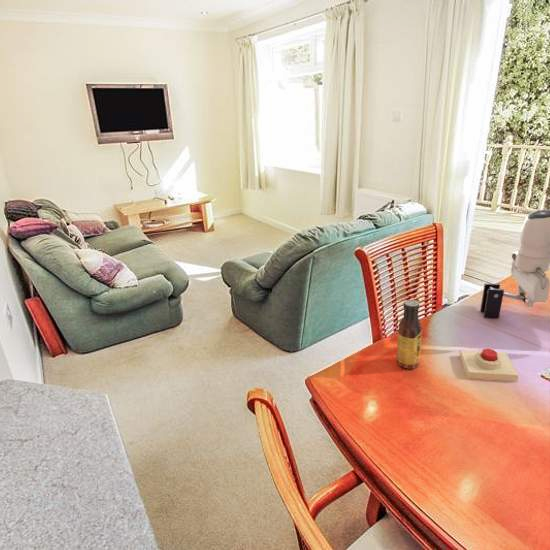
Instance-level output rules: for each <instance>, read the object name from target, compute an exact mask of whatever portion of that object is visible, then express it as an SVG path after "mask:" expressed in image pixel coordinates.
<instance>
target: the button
mask: <svg viewBox="0 0 550 550" xmlns="http://www.w3.org/2000/svg"><path fill="white" fill-rule="evenodd" d="M482 350H483V351H482V356H481V357H482V358H483V359H484V360H487V361H496V359H497V352H498V351H496V350H494V349H491V348H484V349H482Z"/></svg>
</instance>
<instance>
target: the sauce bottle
mask: <svg viewBox="0 0 550 550" xmlns="http://www.w3.org/2000/svg"><path fill="white" fill-rule="evenodd" d="M419 309H420V302H419V301H417V300H414V299H407V300H404V301H403V314H402V315H403V316H402V318H401V319H400V321H399V323H398V332H397V347H396V349H397V350H396V351H397V352H396V359H397V360H396V362H397V364H398V366H400V367H401V368H402V367H403V369H405V368H407V369H406V370H414V369H417V368H418V367H419V365H420V360H421V347H422V335H423V333H422V332H423V328H422V324H421V321H420V319H419Z"/></svg>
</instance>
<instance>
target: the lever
mask: <svg viewBox="0 0 550 550" xmlns="http://www.w3.org/2000/svg"><path fill="white" fill-rule="evenodd" d="M488 289H498V288H495V287H491V286H489V288H488ZM487 293H488V290H487ZM503 297H505V298H510V299H514V300H517V301H522V302H523V303H524V304H525V301H526V300H527V299H528V297H526V295H524V294H520V296H518V294H513V293H508V292H505V291H504V293H503Z"/></svg>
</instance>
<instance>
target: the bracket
mask: <svg viewBox="0 0 550 550" xmlns="http://www.w3.org/2000/svg"><path fill="white" fill-rule="evenodd" d="M489 286H491V287H495V288H498V289H488V288H489ZM500 287H501V284H500V283H486V282H485V283H484V284H483V290H482V291H483V292H482V296H481V297H482V298H481V304H480V310H479V311H480V313H483V318H484V319H496V320H497V319H498V320H499V319H500V314H501V309H502V302H503V298H504V296H503V293H504V292H505V290H504V289H503V288H500ZM487 290H488V293H487Z"/></svg>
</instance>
